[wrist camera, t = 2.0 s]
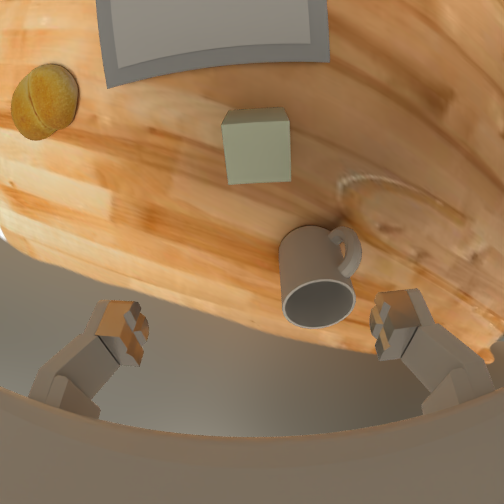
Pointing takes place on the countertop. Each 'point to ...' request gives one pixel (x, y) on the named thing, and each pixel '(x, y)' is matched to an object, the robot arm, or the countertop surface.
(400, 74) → the countertop surface
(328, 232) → the cup
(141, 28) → the tray
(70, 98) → the bread roll
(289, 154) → the sage block
